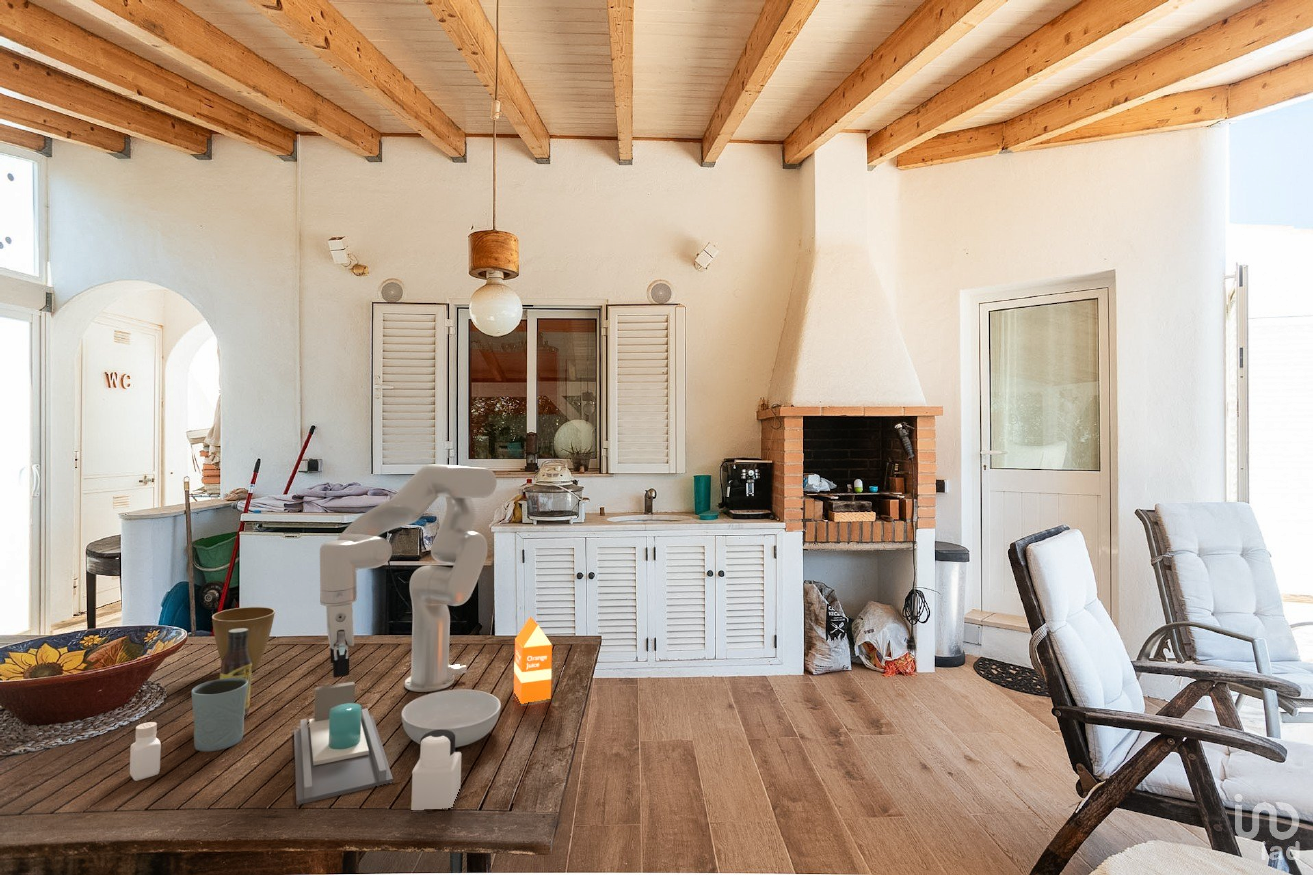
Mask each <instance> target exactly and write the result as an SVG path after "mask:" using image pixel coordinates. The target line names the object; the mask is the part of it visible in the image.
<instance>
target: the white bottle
mask: <svg viewBox="0 0 1313 875" xmlns="http://www.w3.org/2000/svg"><path fill="white" fill-rule="evenodd" d="M419 745H420V746H419V747H420V748H419V759H418V761H417V763H416V764H415V766H414V768H412V771H411V791H410V792H411V795H410V796H411V797H410V798H411V799H410V802H411V803H410V811H411V810H424V809H442V808H443V809H444V808H451V807H454V806H453V804H454V805H455V803H454V801H455V799H456V800H457V798H458V796H457V794H458V792H459V793H460V791H459V789H460V790H461V786H462V785H461V782H462V779H461V776H462V753H461V751H456V747H455V734H454V733H453V732H452V731H449V730H443V729H440V730H434V731H431V732H428V733H426V734H425V735H423V737H422V738H421V740H420V744H419ZM458 795H459V794H458ZM456 797H457V798H456ZM455 802H456V801H455Z"/></svg>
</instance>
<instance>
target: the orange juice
mask: <svg viewBox="0 0 1313 875" xmlns="http://www.w3.org/2000/svg"><path fill="white" fill-rule="evenodd" d="M552 652H553V644H552V643H551V641H550V640H549V639H548V637H547V636H546V634H545V633H544V631H543V629H542V628H541V627H540V625H539V624H538V623H537V622H536V621H535V620H534V619H533V618H532V617H531V616H529V618H528V619H527V621H526V622H525V624H524V625H523V627H522V628H521V630H520V631H519V633H518V635H517V636H516V637H515V638H514V668H513V670H514V671H513V672H514V674H513V677H514V678H513V694H514V693H515V694H516V696H517V697H518V699H519V701H520V703H521V704H524V703H528V702H534V701H541V700H546V699H551V698H552V697H551V696H552V663H553V662H552V654H553V653H552Z"/></svg>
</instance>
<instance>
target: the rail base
mask: <svg viewBox="0 0 1313 875" xmlns="http://www.w3.org/2000/svg"><path fill="white" fill-rule="evenodd" d="M375 721H376V720H375V718H374V716H373V715H370V712H369V708H367V707H366V708H361V724H362V727H363V731H364V735H365V738H366V742H367V746H368V749H369V754H368V755H363V756H358V757H353V758H348V759H344V760H339V761H334V762H329V763H324V764H319V765H314V766H313V759H312V748H311V736H310V726H309V727H308V718H304V719H300V727H299V728H297V729H293V730H294V731H293V743H294V744H293V746H294V770H295V777H294V778H295V797H296V798H295V801H296V802H295V803H296V806H299V805H303V804H307V803H312V802H315V801H321V800H325V799H328V798H329V799H330V798H333V797H337V796H343V795H347V794H350V793H351V794H352V793H354V792H359V791H363V790H368V788H369V789H373V788H376V787H375V786H377V787H381V786H380V785H382V786H384V785H383V784H386V785H388V784H387V783H390V782H393V783H394V778H393V775H392V772H391V768H390V764H389V761H388V759H387V755H386V753H385V750H384V746H383V744H382V740H381V736H380V734H379V730H378V728H377V725H376V722H375ZM390 784H391V783H390ZM372 787H373V788H372Z"/></svg>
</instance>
